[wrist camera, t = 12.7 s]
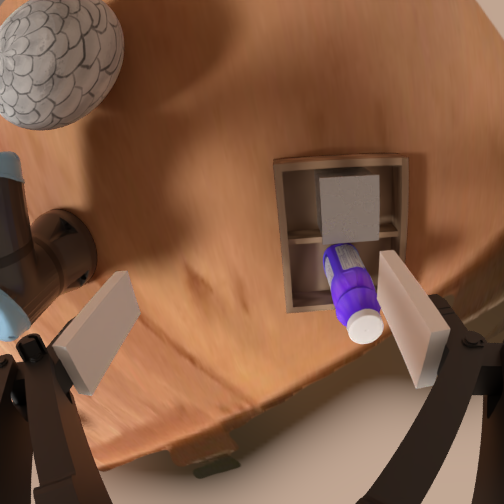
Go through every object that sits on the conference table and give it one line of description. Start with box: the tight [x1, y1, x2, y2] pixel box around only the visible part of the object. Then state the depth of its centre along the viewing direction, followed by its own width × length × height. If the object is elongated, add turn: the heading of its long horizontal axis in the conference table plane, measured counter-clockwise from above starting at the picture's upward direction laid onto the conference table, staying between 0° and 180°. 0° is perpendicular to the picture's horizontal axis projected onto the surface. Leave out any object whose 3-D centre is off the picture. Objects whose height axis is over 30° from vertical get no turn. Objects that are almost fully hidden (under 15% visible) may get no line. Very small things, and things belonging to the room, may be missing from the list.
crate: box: [273, 153, 409, 313], centre depth 45 cm, size 18×22×5 cm
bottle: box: [323, 243, 384, 344], centre depth 41 cm, size 7×6×17 cm
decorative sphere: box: [0, 0, 124, 130], centre depth 30 cm, size 20×20×20 cm
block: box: [314, 167, 380, 245], centre depth 41 cm, size 7×8×7 cm
